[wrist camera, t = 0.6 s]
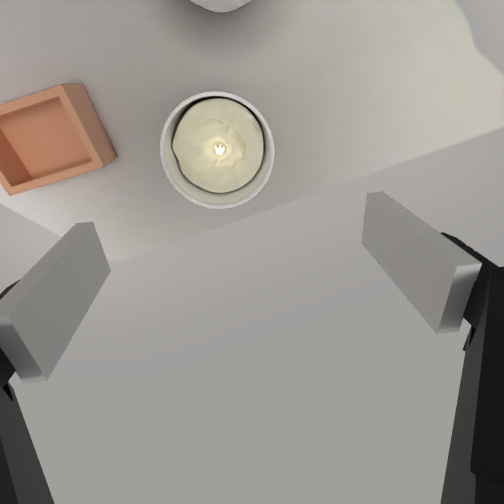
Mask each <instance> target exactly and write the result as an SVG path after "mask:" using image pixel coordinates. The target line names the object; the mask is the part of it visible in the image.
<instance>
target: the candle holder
mask: <svg viewBox="0 0 504 504" xmlns="http://www.w3.org/2000/svg"><path fill="white" fill-rule="evenodd" d="M274 157H275V148H274V140H273V136H272V133H271V130H270V128H269V125H268V124H267V122H266V120H265V118H264V117H263V116H262V114H261V113H260V112H259V111H258V110H257V109H256V108H255V107H254V106H253V105H252V104H251V103H249V102H248V101H247V100H245V99H243V98H241V97H239V96H237V95H234V94H231V93H228V92H222V91H208V92H203V93H199V94H196V95H193V96H191V97H189V98H187V99H186V100H184V101H183V102H181V103H180V104H179V105H178V106H177V107H176V108H175V109H174V110H173V111H172V113H171V114H170V115H169V117H168V119H167V120H166V122H165V124H164V127H163V130H162V133H161V138H160V158H161V163H162V166H163V169H164V172H165V174H166V176H167V178H168V180H169V181H170V183H171V184H172V185H173V187H174V188H175V189H176V190H177V191H178V192H179V193H180V194H181V195H182V196H183V197H185V198H186V199H188V200H189V201H191V202H193V203H195V204H197V205H200V206H203V207H206V208H212V209H227V208H232V207H236V206H239V205H241V204H243V203H245V202H247V201H249V200H250V199H252V198H253V197H254V196H255V195H257V194H258V193H259V192H260V190H261V189H262V188H263V187H264V185H265V184H266V182H267V180H268V179H269V176H270V174H271V171H272V168H273V164H274Z"/></svg>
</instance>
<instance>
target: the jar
mask: <svg viewBox="0 0 504 504" xmlns="http://www.w3.org/2000/svg"><path fill="white" fill-rule="evenodd" d="M190 1H192V2H194V3H195V4H197V5H199V6H201V7H203V8H205V9H207V10H210V11H213V12H229V11H233V10H235V9H237V8H239V7H241V6H242V5H244V4H246V3H248V2H250V1H251V0H190Z"/></svg>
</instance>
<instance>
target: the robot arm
mask: <svg viewBox="0 0 504 504" xmlns="http://www.w3.org/2000/svg"><path fill="white" fill-rule="evenodd" d="M362 244H363V246H364V247H365V248H366V249H367V250H368V252H369V253H370V254H371V255H372V256H373V258H374V259H375V260H376V261H377V262H378V264H379V265H380V266H381V267H382V268H383V270H384V271H385V272H386V273H387V275H388V276H389V277H390V278H391V279H392V280H393V282H394V283H395V284H396V285H397V287H398V288H399V289H400V290H401V291H402V292H403V294H404V295H405V296H406V297H407V299H408V300H409V301H410V302H411V303H412V305H413V306H414V307H415V308H416V309H417V311H418V312H419V313H420V314H421V316H422V317H423V318H424V319H425V320H426V322H427V323H428V324H429V325H430V326H431V328H432V329H433V330H434V331H435V332H436V334H441V333H449V332H458V331H459V329H460V326H461V323H462V320H463V317H464V318H465V319H466V320H467V321H468V322H469V323H470V324H471V325H472V326H471V329H470V331H469V334H468V337H467V340H466V342H465V345H464V348H463V350H464V351H466V352H465V358H464V365H463V370H462V377H461V383H460V389H459V395H458V401H457V407H456V413H455V419H454V425H453V431H452V437H451V443H450V449H449V455H448V462H447V467H446V473H445V480H444V486H443V492H442V498H441V504H504V267H498V266H497V265H495V264H494V263H492V262H491V261H489V260H488V259H487V258H485V257H483V256H482V255H481V254H479V253H478V252H476V251H474V249H472V248H471V247H469V246H466V244H465V243H463V242H462V241H461V240H459V239H458V238H456V237H453V236H451V235H448V234H446V233H443V232H442V233H439V232H438V231H437V230H435V229H434V228H432V227H431V226H430V225H428V224H427V223H425V222H424V221H423V220H421V219H420V218H419V217H417V216H416V215H414V214H413V213H412V212H410V211H409V210H408V209H406V208H405V207H403V206H402V205H401V204H399V203H398V202H396V201H395V200H394V199H392V198H391V197H389V196H388V195H387V194H385V193H384V192H374V193H367V199H366V209H365V217H364V226H363V235H362ZM110 271H111V270H110V268H109V265H108V262H107V259H106V256H105V254H104V251H103V248H102V245H101V243H100V240H99V237H98V234H97V232H96V229H95V226H94V223H93V222H85V223H76V224H75V225H74V226H73V227H72V228H71V229H70V230H69V231H68V232H67V233H66V234H65V235H64V236H63V237H62V238H61V240H59V241H58V242H57V243H56V244H55V246H53V247H52V248H51V250H49V251H48V253H46V254H45V255H44V256H43V257H42V258H41V259H40V261H39V262H37V263H36V265H35V266H33V267H32V268H31V270H29V272H28V273H26V275H25V276H24V277H23V278H22V279H20V280H18V281H17V282H15V283H14V284H12V285H10V286H9V287H7V288H6V289H5V290H4V291H3V292H2V293H1V294H0V504H54V501H53V499H52V496H51V493H50V490H49V487H48V485H47V482H46V479H45V476H44V473H43V471H42V468H41V465H40V462H39V459H38V457H37V454H36V451H35V448H34V446H33V443H32V440H31V437H30V434H29V432H28V429H27V426H26V423H25V420H24V418H23V415H22V412H21V409H20V406H19V404H18V401H17V398H16V395H15V393H14V390H13V388H12V386H11V385H10V384H9V382H8V381H9V379H10V378H11V376H12V375H13V374H14V372H15V371H16V373H17V374H18V376H19V377H20V379H21V380H22V382H23V383H30V382H39V381H47V380H48V379H49V377H50V375H51V373H52V372H53V370H54V368H55V366H56V365H57V363H58V361H59V359H60V358H61V356H62V354H63V353H64V351H65V349H66V347H67V346H68V344H69V342H70V340H71V339H72V337H73V335H74V333H75V332H76V330H77V328H78V327H79V325H80V323H81V321H82V320H83V318H84V316H85V314H86V313H87V311H88V309H89V307H90V306H91V304H92V302H93V300H94V299H95V297H96V295H97V294H98V292H99V290H100V288H101V287H102V285H103V283H104V281H105V280H106V278H107V276H108V274H109V273H110Z"/></svg>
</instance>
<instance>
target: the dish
mask: <svg viewBox="0 0 504 504" xmlns="http://www.w3.org/2000/svg"><path fill="white" fill-rule="evenodd" d="M117 157H118V156H117V154H116V152H115V150H114V148H113V145H112V143H111V141H110V139H109V137H108V135H107V133H106V131H105V129H104V127H103V125H102V123H101V121H100V119H99V117H98V115H97V113H96V111H95V108H94V106H93V104H92V102H91V100H90V98H89V96H88V94H87V92H86V90H85V88H84V86H83V84H61V85H58V86H55V87H52V88H49V89H46V90H43V91H40V92H37V93H34V94H31V95H28V96H25V97H22V98H19V99H16V100H13V101H10V102H7V103H4V104H1V105H0V183H1V185H2V186H3V187H4V189H5V190H6V192H7V193H8V195H9V196H12V195H15V194H18V193H21V192H25V191H28V190H31V189H34V188H37V187H41V186H44V185H47V184H50V183H53V182H57V181H60V180H63V179H66V178H70V177H73V176H76V175H79V174H82V173H86V172H89V171H92V170H95V169H99V168H102V167H104V166H106V165H107V164H109V163H110V162H111V161H113V160H114V159H116V158H117Z"/></svg>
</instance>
